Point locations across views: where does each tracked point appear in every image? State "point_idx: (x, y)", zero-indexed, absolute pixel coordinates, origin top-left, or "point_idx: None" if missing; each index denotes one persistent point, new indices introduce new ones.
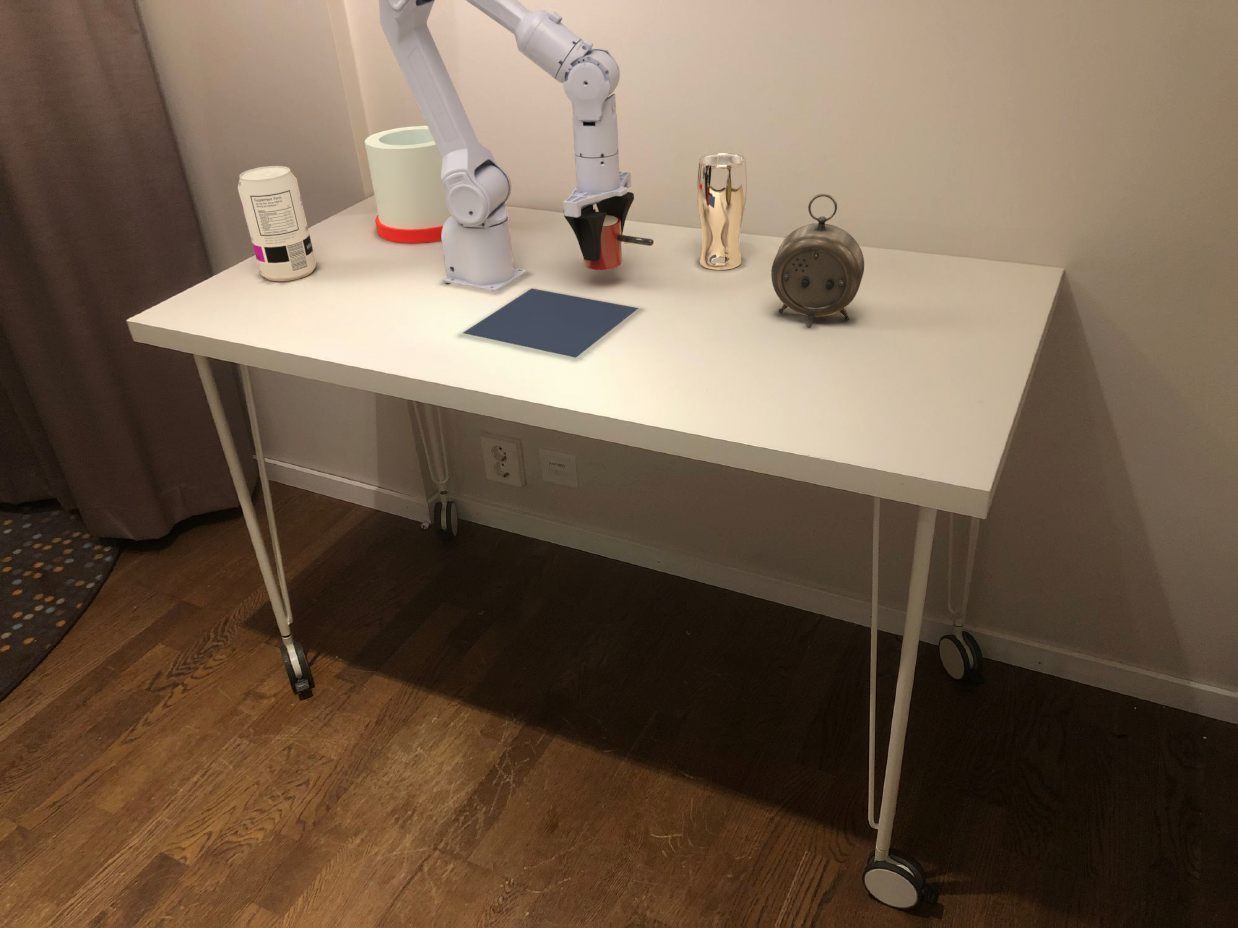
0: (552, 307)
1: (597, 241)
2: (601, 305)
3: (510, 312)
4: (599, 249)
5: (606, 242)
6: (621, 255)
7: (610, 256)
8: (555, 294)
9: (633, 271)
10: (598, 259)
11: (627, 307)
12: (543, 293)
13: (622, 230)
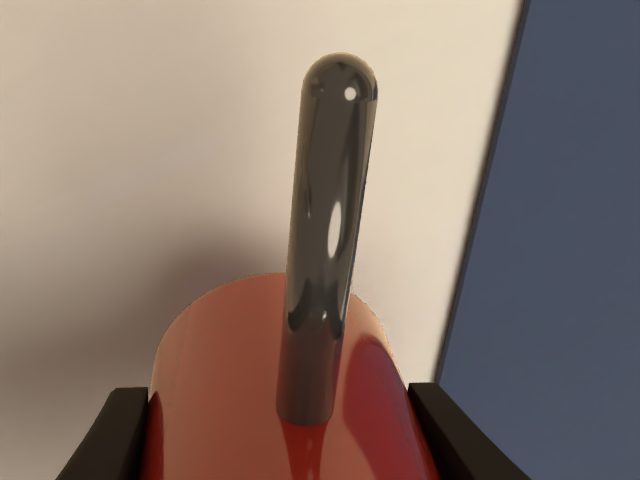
0: (578, 362)
1: (523, 478)
2: (529, 192)
3: (636, 456)
4: (449, 427)
5: (412, 435)
6: (255, 308)
7: (370, 345)
8: None
9: (9, 252)
10: (419, 385)
11: (534, 55)
12: None
13: (85, 463)
